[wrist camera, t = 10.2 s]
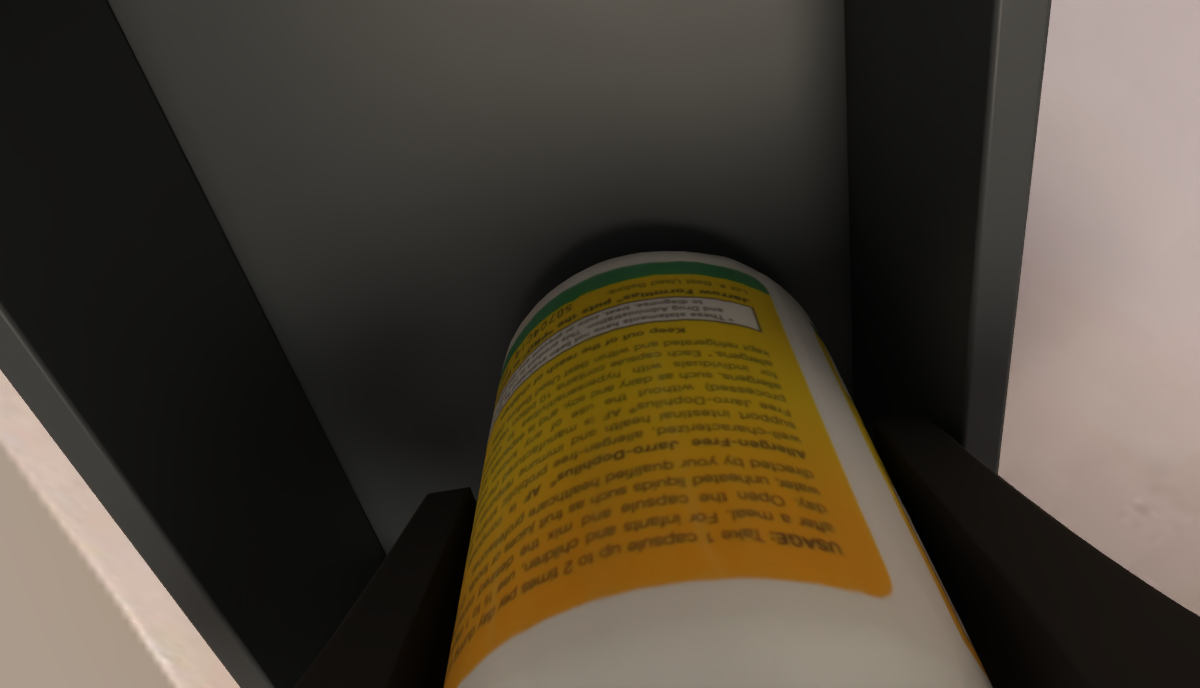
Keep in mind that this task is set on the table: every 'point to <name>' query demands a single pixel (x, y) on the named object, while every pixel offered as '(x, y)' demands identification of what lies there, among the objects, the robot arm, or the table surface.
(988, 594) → the robot arm
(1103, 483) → the table surface
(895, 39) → the open black bin
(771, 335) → the supplement bottle
